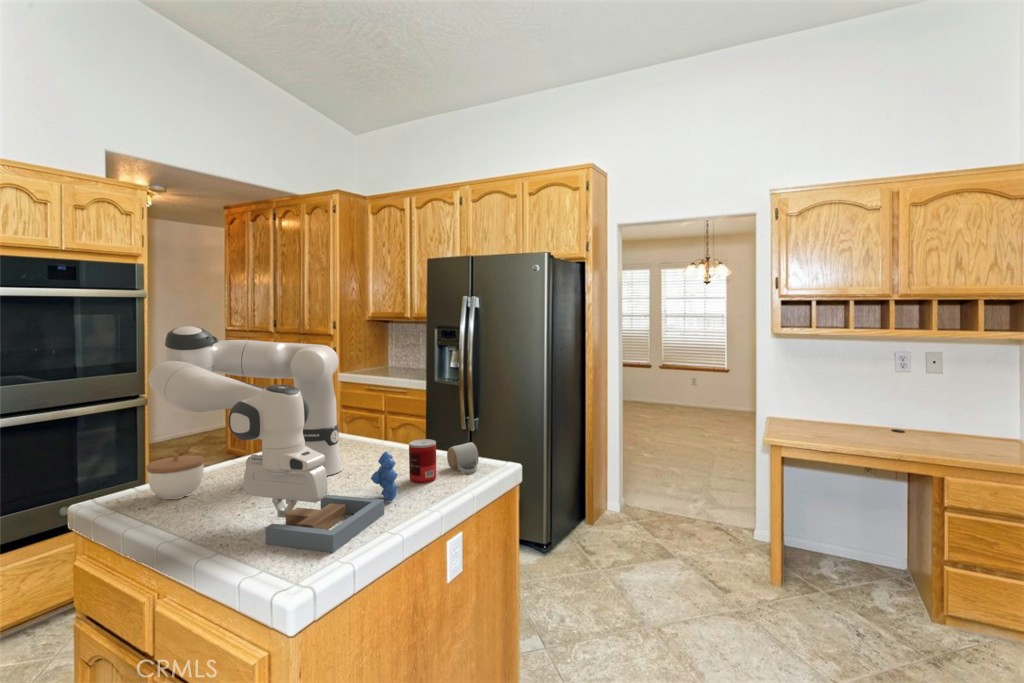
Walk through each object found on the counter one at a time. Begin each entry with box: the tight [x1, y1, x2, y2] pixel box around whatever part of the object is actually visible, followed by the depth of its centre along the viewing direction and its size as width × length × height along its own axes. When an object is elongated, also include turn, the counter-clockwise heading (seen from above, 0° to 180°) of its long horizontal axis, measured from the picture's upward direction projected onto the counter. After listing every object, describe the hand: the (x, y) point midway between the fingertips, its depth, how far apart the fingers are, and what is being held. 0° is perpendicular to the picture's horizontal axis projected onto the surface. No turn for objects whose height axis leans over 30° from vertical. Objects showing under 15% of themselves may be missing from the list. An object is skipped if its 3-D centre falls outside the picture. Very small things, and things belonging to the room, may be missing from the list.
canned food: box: [408, 438, 437, 485], centre depth 141 cm, size 8×8×11 cm
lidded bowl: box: [146, 453, 205, 500], centre depth 130 cm, size 13×13×11 cm
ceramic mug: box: [446, 441, 479, 475], centre depth 151 cm, size 11×8×8 cm
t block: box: [285, 503, 347, 530], centre depth 109 cm, size 10×12×3 cm
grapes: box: [370, 451, 399, 502], centre depth 126 cm, size 12×7×12 cm, turn 27°
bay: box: [264, 494, 385, 554], centre depth 108 cm, size 16×20×4 cm
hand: (285, 516), depth 111 cm, fingers closed
